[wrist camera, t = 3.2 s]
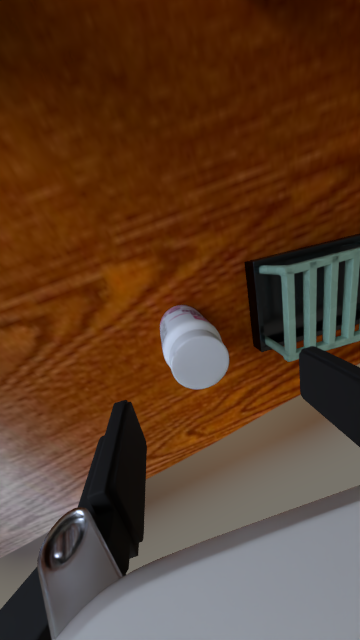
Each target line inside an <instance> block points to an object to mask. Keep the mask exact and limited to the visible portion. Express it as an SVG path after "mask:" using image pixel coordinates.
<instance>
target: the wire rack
mask: <svg viewBox="0 0 360 640" xmlns="http://www.w3.org/2000/svg"><path fill="white" fill-rule="evenodd" d="M245 271H246V280H247V289H248V298H249V308H250V317H251V326H252V335H253V344H254V347H256V348H257V349H258V350H260V351H261V352H264V351H267V350H271V349H274V350H275V351H277V352H278V353H280V354H281V355H282V356H284V359H285V360H287V361H288V362H290V361H293V360H297V359H299V353H300V352H301V350H302V349H303V348H307V347H310V346H315V347H317V348H320V349H322V350H324V351H327V350H330V349H333V348H337V347H340V346H343V345H347V344H350V343H353V342H357V341H360V325H359V331H355V332H354V328H355V325H356V324H360V234H356V235H352V236H348V237H344V238H340V239H336V240H332V241H328V242H324V243H320V244H315V245H311V246H307V247H303V248H299V249H295V250H291V251H287V252H283V253H279V254H275V255H271V256H267V257H263V258H259V259H255V260H251V261H247V262H245ZM339 329H341V336H338V337H335V334H336V330H339ZM322 334H323V341H321V342H318V343H316V336H319V335H322ZM301 340H304V347H301V348H298V349H296V342H298V341H301ZM284 345H285V347H283V346H284Z"/></svg>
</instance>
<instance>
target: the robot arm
mask: <svg viewBox="0 0 360 640" xmlns="http://www.w3.org/2000/svg"><path fill="white" fill-rule="evenodd" d="M299 368H300V392H301V395H302V397H303V399H305V400H306V401H307V402H308V403H309V404H310V405H311V406H313V407H314V408H315V409H316V410H317V411H318V412H320V413H321V414H322V415H323V416H324V417H325V418H326V419H328V420H329V421H330V422H331V423H332V424H333V425H335V426H336V427H337V428H338V429H339V430H340V431H342V432H343V433H344V434H345V435H346V436H347V437H349V438H350V439H351V440H352V441H353V442H354V443H356V444H357V445H358V446H359V447H360V368H359V367H357V366H355V365H353V364H351V363H349V362H347V361H345V360H343V359H341V358H338V357H336V356H334V355H332V354H330V353H328V352H326V351H324V350H322V349H320V348H317V347H315V346H310V347H307V348H303V349H302V350H301V352H300V353H299ZM146 454H147V445H146V440H145V438H144V435H143V432H142V430H141V427H140V424H139V422H138V419H137V416H136V414H135V411H134V408H133V406H132V403H131V402H127V400H124V401H120V402H117V403H115V404H114V406H113V409H112V413H111V416H110V419H109V423H108V426H107V430H106V433H105V436H102V437H101V438H100V440H99V442H98V445H97V448H96V452H95V455H94V458H93V461H92V464H91V467H90V470H89V474H88V477H87V480H86V483H85V486H84V489H83V493H82V496H81V499H80V502H79V505H78V508H75V509H73V510H71V511H69V512H67V513H66V514H65V515H64V516H62V517H61V518H60V519H59V520H58V521H57V522H56V524H55V525H54V526H53V527H52V528H51V530H50V531H49V533H48V535H47V536H46V538H45V540H44V542H43V544H42V546H41V549H40V552H39V556H38V566H37V567H36V569H35V570H34V571H33V572H32V573H31V575H30V576H29V577H28V578H27V579H26V580H25V582H24V583H23V584H22V585H21V586H20V587H19V589H18V590H17V591H16V592H15V593H14V594H13V596H12V597H11V598H10V599H9V600H8V602H7V603H6V604H5V605H4V606H3V607H2V608H1V610H0V640H360V485H359V486H356V487H353V488H350V489H348V490H345V491H342V492H339V493H336V494H333V495H331V496H328V497H325V498H322V499H319V500H316V501H314V502H311V503H308V504H305V505H303V506H300V507H297V508H294V509H291V510H289V511H286V512H283V513H280V514H278V515H274V516H272V517H269V518H266V519H263V520H261V521H258V522H255V523H252V524H250V525H247V526H244V527H241V528H239V529H236V530H233V531H231V532H228V533H225V534H222V535H219V536H217V537H214V538H211V539H208V540H206V541H203V542H201V543H198V544H195V545H193V546H190V547H188V548H185V549H183V550H180V551H178V552H175V553H172V554H170V555H167V556H165V557H162V558H160V559H157V560H155V561H153V562H151V563H149V564H147V565H145V566H142V567H140V568H138V569H136V570H134V571H132V572H130V573H129V574H127V575H126V572H127V570H128V568H129V559H130V558H133V557H136V556H138V547H139V542H142V541H143V534H144V508H145V481H146Z"/></svg>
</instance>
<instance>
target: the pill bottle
mask: <svg viewBox="0 0 360 640" xmlns="http://www.w3.org/2000/svg"><path fill="white" fill-rule="evenodd" d="M160 334H161V341H162V348H163V354H164V358H165V360H166V362H167V364H168V365H169V366H170V368H171V370H172V373H173V375H174V377H175V379H176V380H177V381H178V382H179V383H180V384H181V385H183V386H185V387H187V388H190V389H204V388H208V387H210V386H212V385H214V384H216V383H217V382H218V381H220V379H221V378H222V377H223V376H224V375H225V373H226V371H227V369H228V365H229V354H228V351H227V349H226V347H225V345H224V344H223V343H222V340H221V337H220V334H219V333H218V331H217V330H216V328H215V327H214V326H213V325H212V324H211V323H209V322H208V321H207V320H206V319H205V318H204V317H203V316H202V315H201V314H200V313H199V312H198V311H197V310H196V309H194V308H192V307H190V306H186V305H179V306H175V307H173V308H171V309H169V310H168V311H167V312H166V313H165V314H164V316H163V317H162V320H161V323H160Z"/></svg>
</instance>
